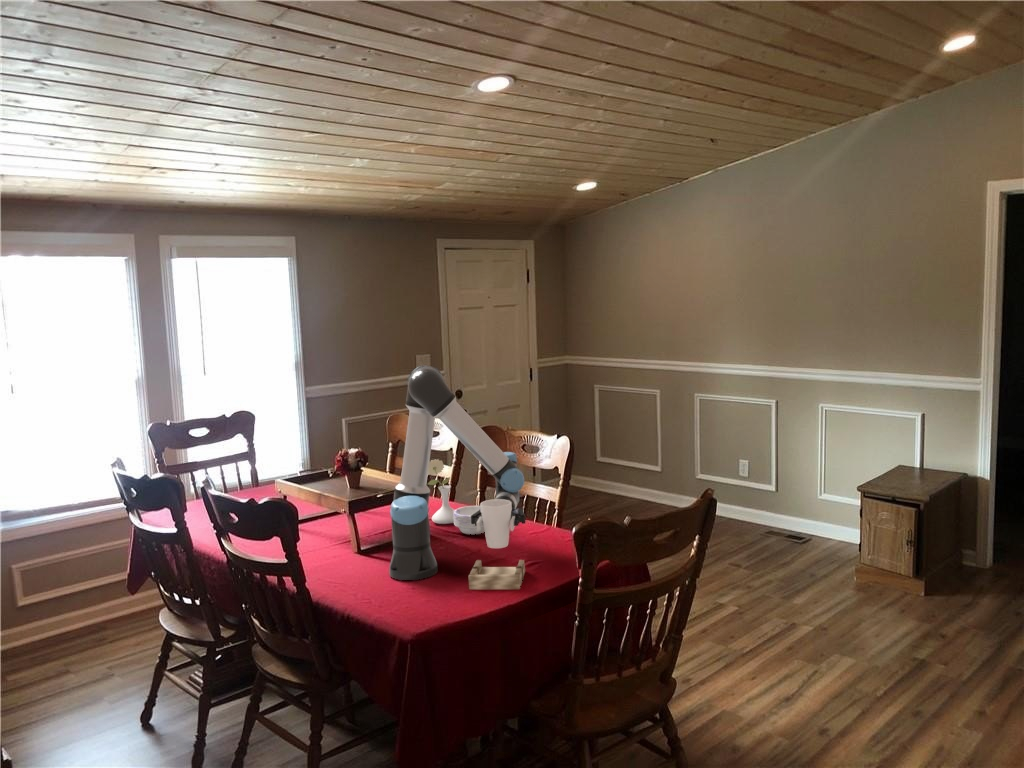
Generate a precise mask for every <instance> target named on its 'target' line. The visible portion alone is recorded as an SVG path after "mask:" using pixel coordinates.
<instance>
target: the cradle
mask: <svg viewBox="0 0 1024 768" xmlns="http://www.w3.org/2000/svg"><path fill="white" fill-rule="evenodd" d="M525 565H526V564H525V559H519V560H518V564H517V566H483V565H482V560H481V559H477V560H476V561H475V563H474V565H473V567H471V569H470V573H469V574H468V577H467V578H468V589H469V590H520V589H521V587H520V586H522V583H523V581H524V576H525V573H526V567H525ZM522 580H523V581H522Z"/></svg>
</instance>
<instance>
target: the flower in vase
mask: <svg viewBox="0 0 1024 768" xmlns="http://www.w3.org/2000/svg"><path fill="white" fill-rule="evenodd" d="M444 468H445V466H444V462H443V460H440V459H439V458H437V459H436V458H435V459H431V460H430V461H429V468H428V476H436V479H431V480H430V481H429V482H427V484H426V485H427V486H428V485H429V486H430V485H431V486H435V485H436V484H438V483H439V485H440V486H438V487H437V488H438V490H439V491H440V494H441V498H442V505H441V507H440V508H439V509H438V510H437V511H436V512H435V513H434V514H433V515H432V516H431V520H432V522H434V523H435V524H439V525H447V524H454V519H453V518H454V516H453V512H454V510H455V509H454V508H453V507H451V505H450V503H449V495H450V489H451V488H452V486H451V485H445V484H447V483H448V482H449V481H450V480H451V477H450V476H449V477H447V478H445V479H443V480H442V481H441V482H440V480H439V478H438V475H439V473H442V472H443V470H444Z"/></svg>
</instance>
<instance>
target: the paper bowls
mask: <svg viewBox="0 0 1024 768" xmlns="http://www.w3.org/2000/svg"><path fill="white" fill-rule="evenodd" d="M479 510H480V505H467V506H461V507H458V508H456V509H454V512H453V516H454V518H453V519H454V523H453V525H454V526H455V527H456V528H458V529H459V531H460V532H461V533H462V534H465V535H470V534H471V535H472V536H473V535H475V534H476V535H482V534H485V533H484V532H485V531H484V525H482V527H481V529H480V531H477V526H475V524H471V515H473V514H474V513H476V512H477V511H479ZM481 533H482V534H481Z"/></svg>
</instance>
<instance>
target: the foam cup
mask: <svg viewBox="0 0 1024 768" xmlns="http://www.w3.org/2000/svg"><path fill="white" fill-rule="evenodd" d="M479 506H480V512H481V514H482V520H483V525H484V531H485V533H484V535H485V540H486V544H487V545H486V546H487V548H490V549H503V548H506V547H508V545H509V541H510V531H511V530H510V521H511V520H510V519H511V511H512V502H511V501H509V500H505V499H495V498H493V499H488V500H484V501H481V502H480V503H479Z"/></svg>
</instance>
